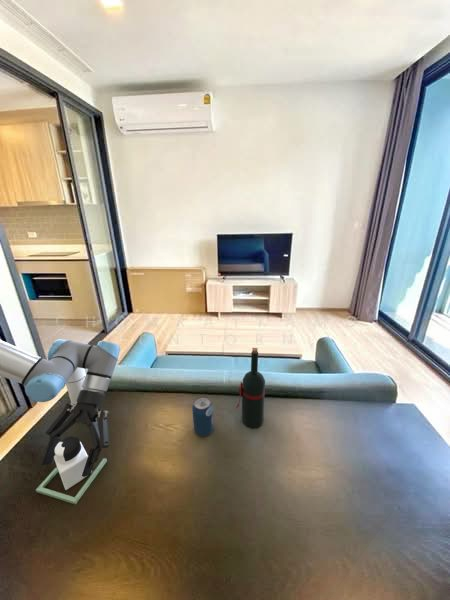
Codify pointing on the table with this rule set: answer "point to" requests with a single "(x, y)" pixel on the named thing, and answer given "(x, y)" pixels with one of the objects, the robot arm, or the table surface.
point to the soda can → (202, 416)
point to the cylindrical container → (75, 384)
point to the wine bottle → (252, 395)
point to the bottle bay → (63, 496)
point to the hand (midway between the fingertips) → (65, 470)
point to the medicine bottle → (70, 460)
